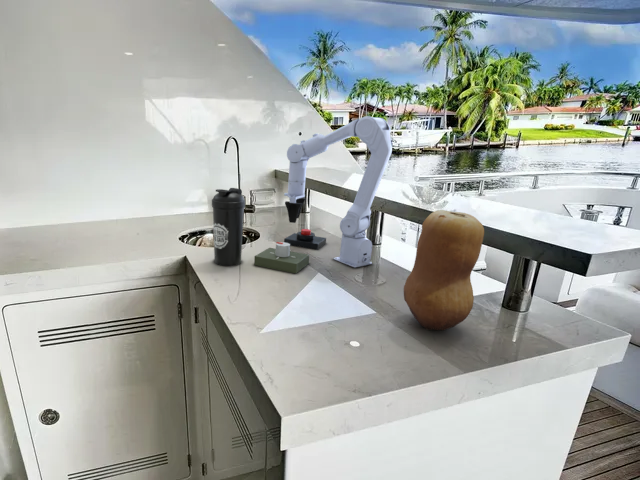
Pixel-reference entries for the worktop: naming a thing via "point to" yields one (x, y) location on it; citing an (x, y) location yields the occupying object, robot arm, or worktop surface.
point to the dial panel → (282, 261)
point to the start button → (306, 232)
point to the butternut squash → (444, 269)
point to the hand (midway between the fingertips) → (294, 220)
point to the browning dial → (282, 249)
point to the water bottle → (228, 226)
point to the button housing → (305, 240)
